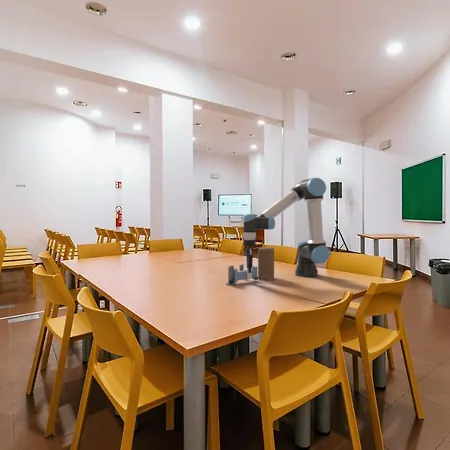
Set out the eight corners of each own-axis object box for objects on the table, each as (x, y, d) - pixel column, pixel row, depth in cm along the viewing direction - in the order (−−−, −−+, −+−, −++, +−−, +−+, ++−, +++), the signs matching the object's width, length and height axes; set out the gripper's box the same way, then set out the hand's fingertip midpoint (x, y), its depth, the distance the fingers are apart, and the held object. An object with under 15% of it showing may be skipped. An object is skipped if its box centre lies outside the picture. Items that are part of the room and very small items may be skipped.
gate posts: (246, 278, 204) (246, 261, 203) (233, 285, 182) (233, 267, 182) (238, 277, 206) (238, 260, 205) (224, 284, 184) (224, 266, 184)
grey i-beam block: (255, 279, 197) (255, 266, 197) (258, 280, 195) (258, 266, 194) (232, 282, 188) (232, 268, 188) (235, 283, 185) (235, 269, 185)
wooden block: (273, 280, 196) (273, 249, 195) (257, 280, 197) (257, 248, 197) (274, 277, 205) (274, 247, 205) (258, 276, 207) (259, 247, 206)
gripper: (257, 240, 183) (257, 279, 183) (253, 238, 196) (253, 275, 196) (244, 240, 182) (244, 280, 183) (242, 238, 195) (242, 275, 196)
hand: (249, 277), depth 189 cm, fingers closed
